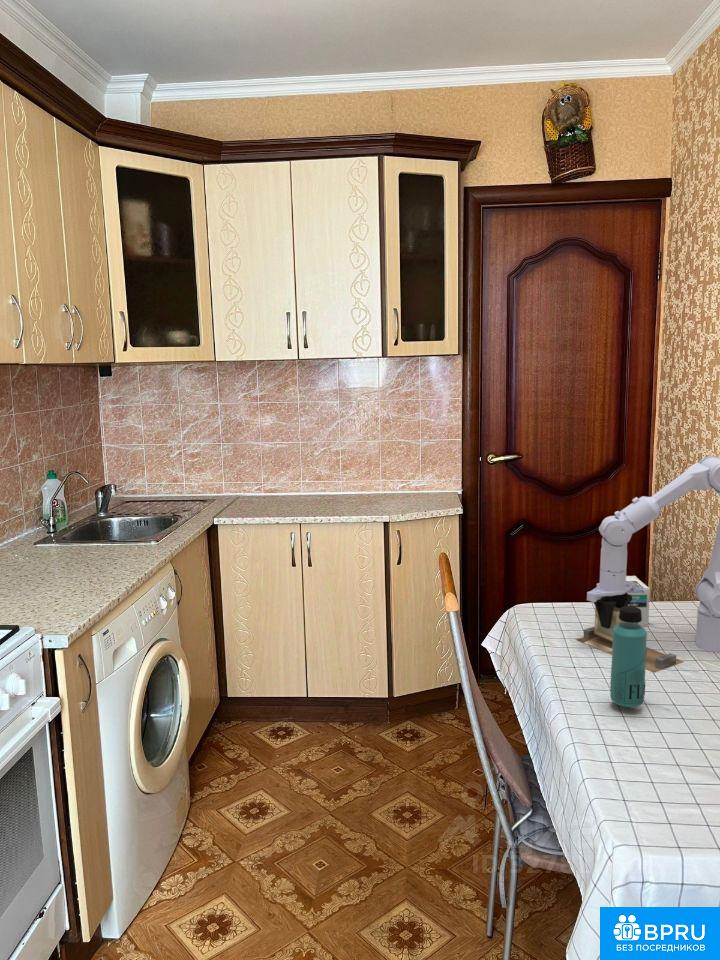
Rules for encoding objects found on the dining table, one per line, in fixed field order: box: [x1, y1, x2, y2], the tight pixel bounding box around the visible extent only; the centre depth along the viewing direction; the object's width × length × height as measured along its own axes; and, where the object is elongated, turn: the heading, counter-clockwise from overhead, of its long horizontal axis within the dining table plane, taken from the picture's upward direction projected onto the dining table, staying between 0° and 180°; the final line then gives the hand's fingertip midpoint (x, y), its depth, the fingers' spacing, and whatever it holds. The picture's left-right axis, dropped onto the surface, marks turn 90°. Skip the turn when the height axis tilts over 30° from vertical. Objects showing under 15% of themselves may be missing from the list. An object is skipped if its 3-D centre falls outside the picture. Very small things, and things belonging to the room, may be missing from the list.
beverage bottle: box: [609, 606, 648, 708], centre depth 146 cm, size 6×7×20 cm
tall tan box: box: [593, 606, 624, 641], centre depth 176 cm, size 3×7×7 cm, turn 31°
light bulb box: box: [626, 575, 651, 628], centre depth 191 cm, size 11×7×11 cm, turn 179°
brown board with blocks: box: [575, 626, 685, 674], centre depth 173 cm, size 10×22×3 cm, turn 32°
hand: (610, 625), depth 177 cm, fingers closed on tall tan box, 3 cm apart
